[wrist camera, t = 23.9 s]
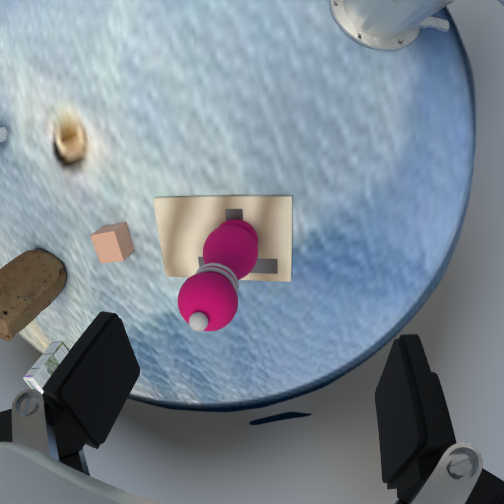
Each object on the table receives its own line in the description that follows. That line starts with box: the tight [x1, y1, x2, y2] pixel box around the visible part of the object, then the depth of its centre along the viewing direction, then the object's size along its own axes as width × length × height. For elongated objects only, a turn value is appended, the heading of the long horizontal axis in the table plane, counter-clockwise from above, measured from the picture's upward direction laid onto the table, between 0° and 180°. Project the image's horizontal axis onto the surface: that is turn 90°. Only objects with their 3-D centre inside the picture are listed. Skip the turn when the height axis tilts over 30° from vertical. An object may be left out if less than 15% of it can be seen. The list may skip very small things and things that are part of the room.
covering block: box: [91, 222, 135, 263], centre depth 47 cm, size 5×5×4 cm
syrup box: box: [24, 342, 69, 394], centre depth 59 cm, size 6×6×14 cm
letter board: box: [154, 195, 292, 282], centre depth 45 cm, size 20×13×1 cm, turn 92°
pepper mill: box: [178, 219, 258, 331], centre depth 36 cm, size 7×7×20 cm
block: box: [0, 249, 66, 341], centre depth 45 cm, size 11×8×20 cm
